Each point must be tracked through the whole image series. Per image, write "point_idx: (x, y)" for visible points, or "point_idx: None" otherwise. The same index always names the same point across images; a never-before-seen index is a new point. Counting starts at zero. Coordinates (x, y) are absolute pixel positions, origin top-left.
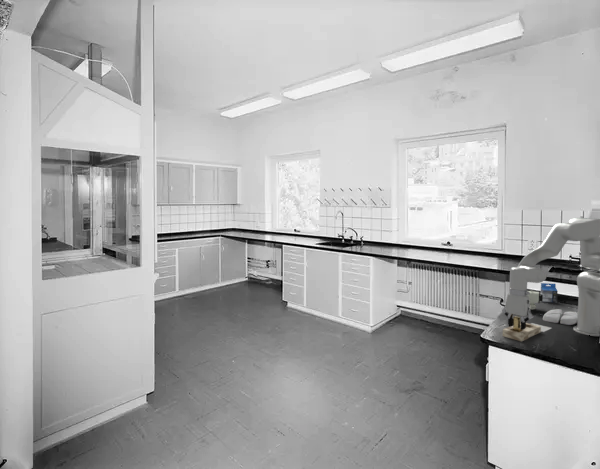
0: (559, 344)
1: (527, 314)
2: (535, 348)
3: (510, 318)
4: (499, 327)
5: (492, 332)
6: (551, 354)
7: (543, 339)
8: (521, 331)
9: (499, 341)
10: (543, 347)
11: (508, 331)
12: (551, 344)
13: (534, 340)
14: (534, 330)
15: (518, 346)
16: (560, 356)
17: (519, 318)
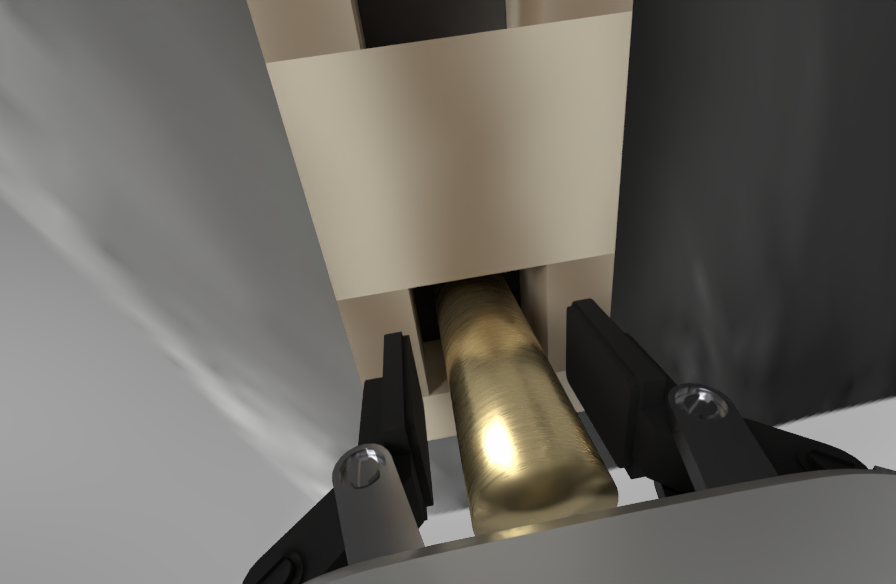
0: (887, 65)
1: (864, 485)
2: (709, 383)
3: (418, 511)
4: (76, 157)
5: (253, 393)
6: (826, 381)
7: (706, 65)
8: (551, 326)
9: (463, 491)
10: (756, 310)
11: (450, 429)
12: (808, 159)
13: (640, 211)
14: (618, 22)
15: (604, 453)
16: (884, 360)
17: (609, 507)
